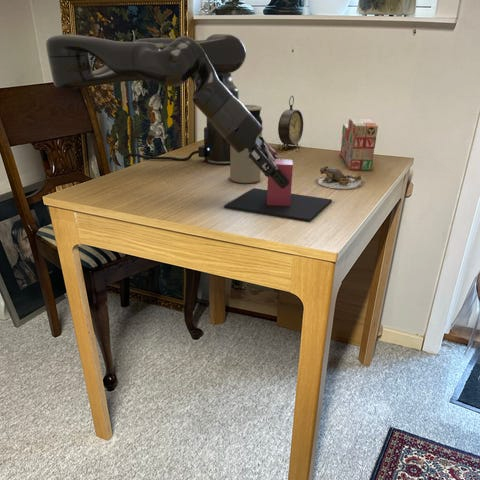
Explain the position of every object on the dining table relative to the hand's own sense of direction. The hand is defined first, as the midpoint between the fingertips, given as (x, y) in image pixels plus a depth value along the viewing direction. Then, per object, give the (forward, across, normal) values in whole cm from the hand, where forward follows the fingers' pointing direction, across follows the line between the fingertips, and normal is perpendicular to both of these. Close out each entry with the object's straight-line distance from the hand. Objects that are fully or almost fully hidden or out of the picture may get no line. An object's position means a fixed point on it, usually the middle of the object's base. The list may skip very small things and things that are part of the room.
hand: (286, 180), depth 110 cm
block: (+2, 0, -5) cm, 5 cm away
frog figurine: (+14, -21, +6) cm, 26 cm away
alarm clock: (+4, -65, -4) cm, 66 cm away
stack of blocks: (+19, -47, +10) cm, 52 cm away
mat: (+3, 0, -5) cm, 6 cm away
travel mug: (-4, -20, -12) cm, 24 cm away
